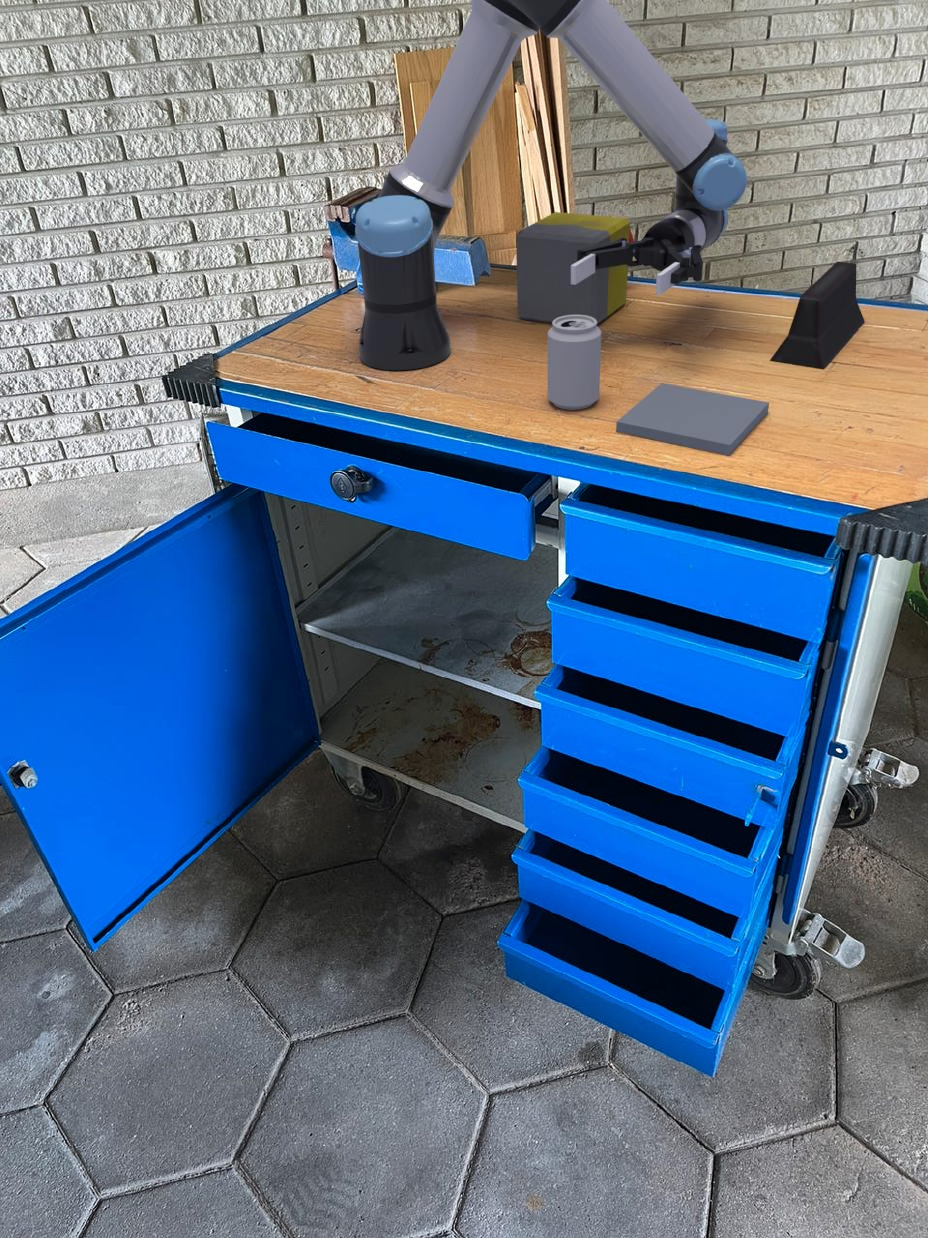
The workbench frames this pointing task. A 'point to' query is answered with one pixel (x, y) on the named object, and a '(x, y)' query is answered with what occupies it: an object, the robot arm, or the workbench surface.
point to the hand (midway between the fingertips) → (614, 279)
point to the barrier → (823, 320)
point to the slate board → (693, 418)
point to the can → (574, 362)
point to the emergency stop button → (568, 267)
